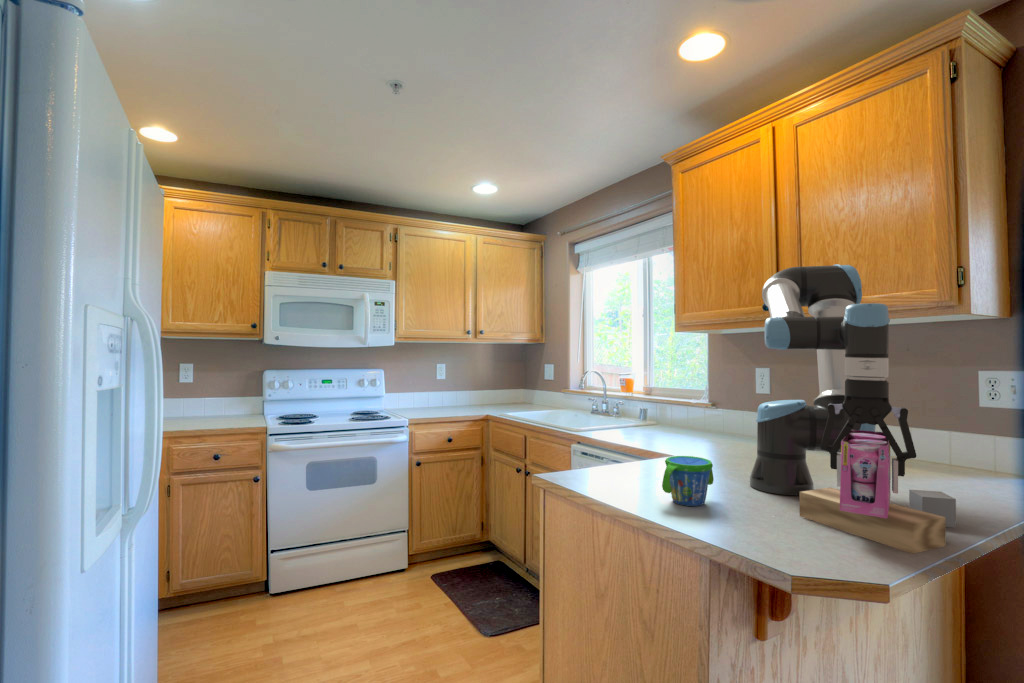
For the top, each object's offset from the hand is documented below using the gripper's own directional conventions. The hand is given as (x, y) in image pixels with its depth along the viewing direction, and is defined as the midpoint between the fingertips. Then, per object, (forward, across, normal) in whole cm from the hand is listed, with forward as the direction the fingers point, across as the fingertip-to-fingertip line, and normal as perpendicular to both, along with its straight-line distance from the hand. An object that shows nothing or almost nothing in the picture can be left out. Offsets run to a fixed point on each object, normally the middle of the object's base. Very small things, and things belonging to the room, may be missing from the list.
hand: (866, 488), depth 109 cm
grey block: (+9, +12, +14) cm, 21 cm away
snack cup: (+9, -36, 0) cm, 37 cm away
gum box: (+3, 0, +1) cm, 3 cm away
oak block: (+9, 0, 0) cm, 9 cm away
